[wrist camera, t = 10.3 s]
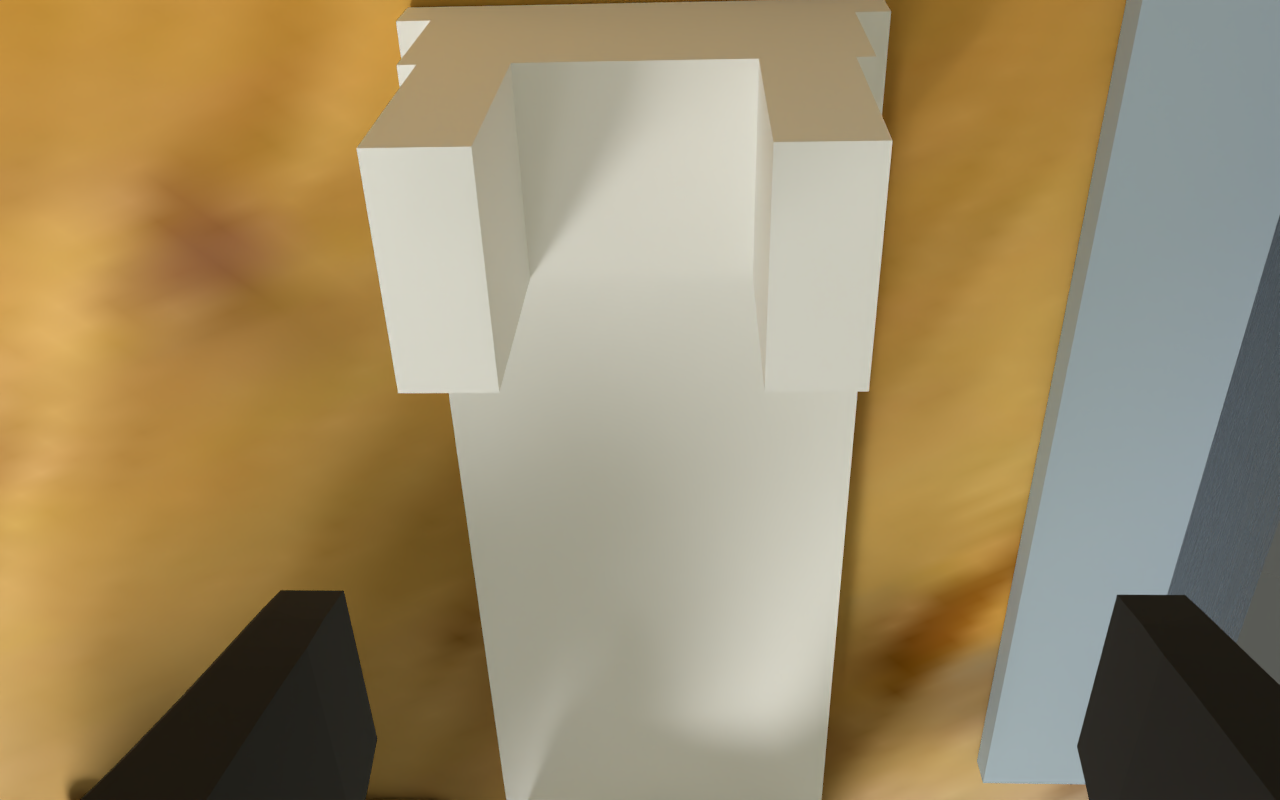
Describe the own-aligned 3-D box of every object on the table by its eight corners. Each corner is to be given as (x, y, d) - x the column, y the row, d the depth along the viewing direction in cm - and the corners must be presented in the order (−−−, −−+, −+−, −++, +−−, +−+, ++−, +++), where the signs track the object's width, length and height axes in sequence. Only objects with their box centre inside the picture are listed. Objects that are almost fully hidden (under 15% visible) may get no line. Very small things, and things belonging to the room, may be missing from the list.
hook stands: (522, 851, 28) (483, 1115, 22) (407, 7, 17) (285, 148, 12) (810, 856, 27) (837, 1125, 22) (882, -3, 16) (968, 139, 11)
